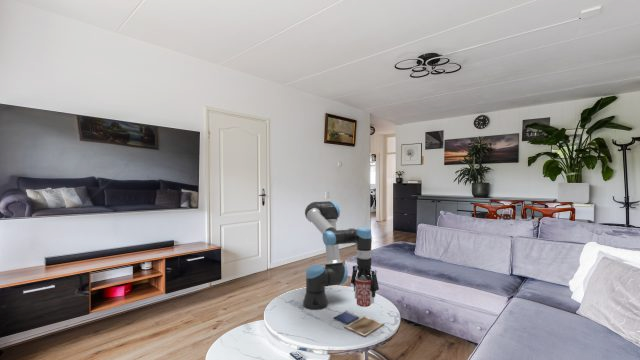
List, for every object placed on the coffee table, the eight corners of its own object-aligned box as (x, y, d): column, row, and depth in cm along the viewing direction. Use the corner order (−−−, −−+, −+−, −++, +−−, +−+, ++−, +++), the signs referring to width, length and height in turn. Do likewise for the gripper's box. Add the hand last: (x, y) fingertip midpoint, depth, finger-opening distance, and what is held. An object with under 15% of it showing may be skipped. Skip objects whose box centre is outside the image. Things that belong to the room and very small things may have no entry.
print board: (344, 328, 150) (344, 326, 150) (363, 317, 162) (363, 315, 162) (364, 337, 141) (364, 335, 141) (383, 325, 153) (383, 323, 153)
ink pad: (333, 318, 160) (333, 317, 160) (344, 313, 167) (344, 311, 167) (347, 325, 153) (347, 323, 153) (358, 318, 160) (358, 317, 160)
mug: (373, 308, 145) (373, 281, 145) (355, 307, 146) (355, 280, 146) (371, 298, 158) (371, 273, 158) (354, 297, 158) (354, 273, 159)
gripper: (343, 255, 157) (343, 296, 156) (377, 262, 141) (377, 308, 141) (352, 252, 162) (352, 292, 162) (386, 260, 147) (386, 304, 146)
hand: (364, 300), depth 151 cm, fingers closed on mug, 9 cm apart
